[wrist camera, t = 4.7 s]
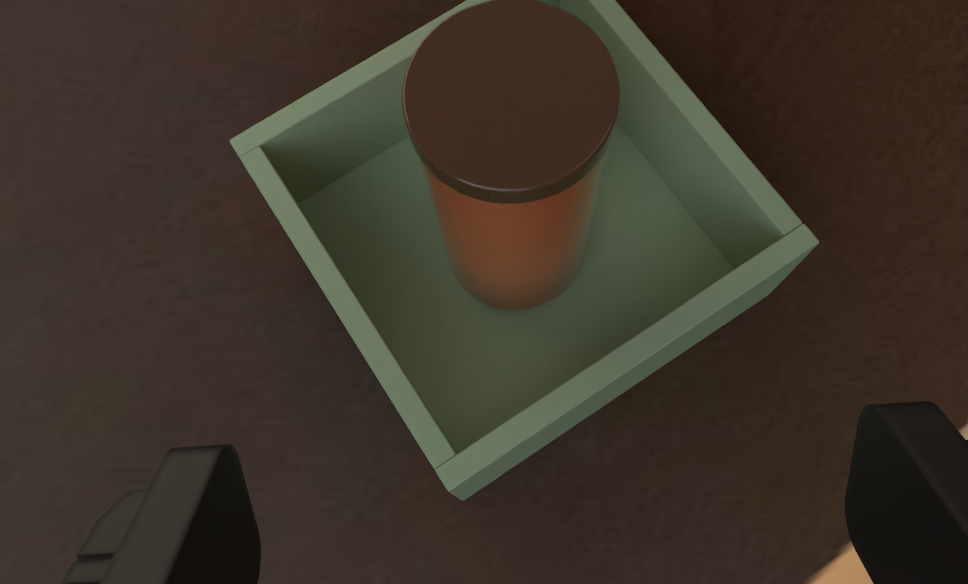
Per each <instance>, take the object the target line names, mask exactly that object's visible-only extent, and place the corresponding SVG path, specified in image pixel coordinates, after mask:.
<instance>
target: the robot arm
mask: <svg viewBox="0 0 968 584" xmlns="http://www.w3.org/2000/svg"><path fill="white" fill-rule="evenodd" d="M845 515H846V522H847V527H848V531H849V535H850V538H851V541H852V544H853V546H854V548H855V550H856V552H857V554H858V556H859V557H860V559H861V561H862V563H863V565H864V567H865V569H866V570H867V572H868V574H869V576H870V578H871V580H872V581H873V583H874V584H968V440H965V439H964V437H963V436H962V435H961V434H960V433H959V431H958V430H957V429H956V428H955V427H954V425H953V424H952V423H951V422H950V421H949V419H948V418H947V417H946V416H945V414H944V413H943V412H942V411H941V410H940V409H939V408H938V407H937V406H936V405H935V404H934V403H932V402H929V401H923V402H908V403H892V404H877V405H867V406H865V407H864V408H863V410H862V411H861V414H860V416H859V421H858V426H857V432H856V438H855V444H854V450H853V456H852V461H851V467H850V473H849V479H848V485H847V491H846V497H845ZM77 557H78V560H77V562H73V564H72V566H71V567H70V569H69V571H68V573H67V574H66V576H65V578H64V580H63V582H62V583H61V584H257V582H258V578H259V572H260V561H261V547H260V537H259V532H258V528H257V524H256V520H255V516H254V513H253V509H252V505H251V501H250V498H249V494H248V490H247V486H246V483H245V479H244V475H243V471H242V468H241V464H240V460H239V457H238V454H237V452H236V450H235V448H234V447H233V446H232V445H230V444H227V445H212V446H196V447H181V448H172V449H170V450H169V451H168V452H167V453H166V455H165V457H164V458H163V460H162V462H161V464H160V466H159V468H158V470H157V472H156V474H155V476H154V478H153V480H152V482H151V484H150V486H149V488H148V490H136V491H129V492H127V493H126V494H125V495H124V496H123V497H122V498H121V499H120V500H119V501H118V502H117V503H116V504H114V505H113V506H112V507H111V508H110V509H109V510H108V511H107V512H106V513H105V514H104V515H103V516H102V517H100V518H99V519H98V520H97V521H96V523H95V525H94V526H93V528H92V530H91V532H90V534H89V535H88V537H87V539H86V541H85V542H84V544H83V546H82V548H81V550H80V551H79V553H78V555H77Z"/></svg>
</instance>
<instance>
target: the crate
mask: <svg viewBox="0 0 968 584" xmlns="http://www.w3.org/2000/svg"><path fill="white" fill-rule="evenodd" d="M486 1H490V0H467V1H465V2H463V3H462V4H460V5H458V6H456V7H455V8H453V9H451V10H450V11H448V12H446V13H445V14H443V15H441V16H439V17H438V18H436V19H434V20H433V21H431V22H429V23H428V24H426V25H424V26H422V27H421V28H419V29H417V30H416V31H414V32H412V33H411V34H409V35H407V36H405V37H404V38H402V39H400V40H399V41H397V42H395V43H394V44H392V45H390V46H388V47H387V48H385V49H383V50H382V51H380V52H378V53H377V54H375V55H373V56H371V57H370V58H368V59H366V60H365V61H363V62H361V63H360V64H358V65H356V66H354V67H353V68H351V69H349V70H348V71H346V72H344V73H343V74H341V75H339V76H337V77H336V78H334V79H332V80H331V81H329V82H327V83H326V84H324V85H322V86H320V87H319V88H317V89H315V90H314V91H312V92H310V93H309V94H307V95H305V96H303V97H302V98H300V99H298V100H297V101H295V102H293V103H292V104H290V105H288V106H286V107H285V108H283V109H281V110H280V111H278V112H276V113H275V114H273V115H271V116H269V117H268V118H266V119H264V120H263V121H261V122H259V123H258V124H256V125H254V126H252V127H251V128H249V129H247V130H246V131H244V132H242V133H241V134H239V135H237V136H236V137H234V138H232V139H230V143H231V145H232V147H233V148H234V150H235V151H236V153H237V155H238V156H239V158H240V159H241V161H242V163H243V164H244V166H245V167H246V169H247V171H248V172H249V174H250V175H251V177H252V179H253V180H254V182H255V183H256V185H257V187H258V188H259V190H260V191H261V193H262V195H263V196H264V198H265V199H266V201H267V203H268V204H269V206H270V207H271V209H272V211H273V212H274V214H275V215H276V217H277V219H278V220H279V222H280V223H281V225H282V227H283V228H284V230H285V231H286V233H287V235H288V236H289V238H290V239H291V241H292V243H293V244H294V246H295V247H296V249H297V251H298V252H299V254H300V255H301V257H302V259H303V260H304V262H305V263H306V265H307V267H308V268H309V270H310V271H311V273H312V275H313V276H314V278H315V279H316V281H317V283H318V284H319V286H320V287H321V289H322V291H323V292H324V294H325V295H326V297H327V299H328V300H329V302H330V303H331V305H332V307H333V308H334V310H335V311H336V313H337V315H338V316H339V318H340V319H341V321H342V323H343V324H344V326H345V327H346V329H347V331H348V332H349V334H350V335H351V337H352V339H353V340H354V342H355V343H356V345H357V347H358V348H359V350H360V351H361V353H362V355H363V356H364V358H365V359H366V361H367V363H368V364H369V366H370V367H371V369H372V371H373V372H374V374H375V375H376V377H377V379H378V380H379V382H380V383H381V385H382V387H383V388H384V390H385V391H386V393H387V395H388V396H389V398H390V399H391V401H392V403H393V404H394V406H395V407H396V409H397V411H398V412H399V414H400V415H401V417H402V419H403V420H404V422H405V423H406V425H407V427H408V428H409V430H410V431H411V433H412V435H413V436H414V438H415V439H416V441H417V443H418V444H419V446H420V447H421V449H422V451H423V452H424V454H425V455H426V457H427V459H428V460H429V462H430V463H431V465H432V467H433V468H434V469H435V471H436V473H437V475H438V476H439V478H440V479H441V481H442V483H443V484H444V486H445V487H446V489H447V490H448V491H449V492H450V493H452V494H453V495H455V496H456V497H457V498H459V499H460V500H462V501H463V500H465V499H467V498H468V497H470V496H471V495H473V494H474V493H476V492H477V491H479V490H480V489H482V488H483V487H485V486H486V485H488V484H489V483H491V482H492V481H494V480H495V479H496V478H498V477H499V476H501V475H502V474H504V473H505V472H507V471H508V470H510V469H511V468H513V467H514V466H516V465H517V464H519V463H520V462H522V461H523V460H525V459H526V458H528V457H529V456H531V455H532V454H534V453H535V452H536V451H538V450H539V449H541V448H542V447H544V446H545V445H547V444H548V443H550V442H551V441H553V440H554V439H556V438H557V437H559V436H560V435H562V434H563V433H565V432H566V431H568V430H569V429H571V428H572V427H574V426H575V425H576V424H578V423H579V422H581V421H582V420H584V419H585V418H587V417H588V416H590V415H591V414H593V413H594V412H596V411H597V410H599V409H600V408H602V407H603V406H605V405H606V404H608V403H609V402H611V401H612V400H614V399H615V398H616V397H618V396H619V395H621V394H622V393H624V392H625V391H627V390H628V389H630V388H631V387H633V386H634V385H636V384H637V383H639V382H640V381H642V380H643V379H645V378H646V377H648V376H649V375H651V374H652V373H654V372H655V371H656V370H658V369H659V368H661V367H662V366H664V365H665V364H667V363H668V362H670V361H671V360H673V359H674V358H676V357H677V356H679V355H680V354H682V353H683V352H685V351H686V350H688V349H689V348H691V347H692V346H694V345H695V344H696V343H698V342H699V341H701V340H702V339H704V338H705V337H707V336H708V335H710V334H711V333H713V332H714V331H716V330H717V329H719V328H720V327H722V326H723V325H725V324H726V323H728V322H729V321H731V320H732V319H733V318H735V317H736V316H738V315H739V314H741V313H742V312H744V311H745V310H747V309H748V308H750V307H751V306H753V305H754V304H756V303H757V302H759V301H760V300H762V299H763V298H765V297H766V296H768V295H769V294H770V293H771V292H772V291H773V290H774V289H775V288H776V287H777V286H778V285H779V284H780V283H781V282H782V281H783V280H784V279H785V278H786V277H787V276H788V274H789V273H790V272H791V271H792V270H793V269H794V268H795V267H796V266H797V265H798V264H799V263H800V262H801V261H802V260H803V259H804V258H805V257H806V256H807V255H808V254H809V253H810V252H811V251H812V250H813V249H814V248H815V247H816V246H817V245H818V244H819V240H818V239H817V238H816V237H815V236H814V235H813V233H812V232H811V231H810V230H809V229H808V227H807V226H806V225H805V224H802V221H801V220H800V219H799V218H798V216H797V215H796V214H795V213H794V212H793V210H792V209H791V208H790V207H789V206H788V205H787V203H786V202H785V201H784V200H783V199H782V197H781V196H780V195H779V194H778V193H777V191H776V190H775V189H774V188H773V187H772V186H771V184H770V183H769V182H768V181H767V180H766V178H765V177H764V176H763V175H762V174H761V172H760V171H759V170H758V169H757V168H756V167H755V165H754V164H753V163H752V162H751V161H750V159H749V158H748V157H747V156H746V155H745V154H744V152H743V151H742V150H741V149H740V148H739V146H738V145H737V144H736V143H735V142H734V140H733V139H732V138H731V137H730V136H729V135H728V133H727V132H726V131H725V130H724V129H723V127H722V126H721V125H720V124H719V123H718V121H717V120H716V119H715V118H714V117H713V116H712V114H711V113H710V112H709V111H708V110H707V108H706V107H705V106H704V105H703V104H702V103H701V101H700V100H699V99H698V98H697V97H696V95H695V94H694V93H693V92H692V91H691V89H690V88H689V87H688V86H687V85H686V84H685V82H684V81H683V80H682V79H681V78H680V76H679V75H678V74H677V73H676V72H675V70H674V69H673V68H672V67H671V66H670V65H669V63H668V62H667V61H666V60H665V59H664V57H663V56H662V55H661V54H660V53H659V52H658V50H657V49H656V48H655V47H654V46H653V44H652V43H651V42H650V41H649V40H648V38H647V37H646V36H645V35H644V34H643V33H642V31H641V30H640V29H639V28H638V27H637V25H636V24H635V23H634V22H633V21H632V20H631V18H630V17H629V16H628V15H627V14H626V12H625V11H624V10H623V9H622V8H621V6H620V5H619V4H618V3H617V2H616V1H615V0H535V1H540V2H544V3H547V4H550V5H553V6H556V7H559V8H561V9H563V10H565V11H567V12H569V13H571V14H572V15H574V16H575V17H577V18H579V19H580V20H581V21H583V22H584V23H585V24H586V25H588V26H589V27H590V28H591V29H592V30H593V31H594V32H595V33H596V34H597V36H598V37H599V38H600V39H601V41H602V42H603V43H604V45H605V46H606V48H607V49H608V51H609V53H610V55H611V57H612V59H613V61H614V64H615V67H616V70H617V74H618V79H619V84H620V103H619V111H618V116H617V120H616V125H615V128H614V132H613V136H612V138H611V141H610V143H609V145H608V148H607V149H606V152H605V157H604V162H603V167H602V172H601V177H600V182H599V187H598V192H597V196H596V201H595V206H594V211H593V216H592V221H591V226H590V231H589V236H588V240H587V245H586V250H585V255H584V259H583V263H582V265H581V268H580V270H579V272H578V274H577V275H576V277H575V279H574V280H573V281H572V283H571V284H570V285H569V286H568V287H567V288H566V289H565V290H564V291H563V292H562V293H561V294H559V295H558V296H557V297H555V298H554V299H552V300H550V301H548V302H546V303H544V304H541V305H539V306H535V307H532V308H526V309H504V308H498V307H494V306H491V305H489V304H486V303H483V302H482V301H480V300H478V299H476V298H475V297H473V296H472V295H471V294H469V293H468V292H467V291H466V290H465V289H464V288H463V287H462V286H461V285H460V284H459V282H458V281H457V280H456V278H455V277H454V275H453V273H452V271H451V269H450V267H449V264H448V261H447V257H446V253H445V250H444V246H443V242H442V239H441V235H440V231H439V228H438V224H437V220H436V217H435V213H434V209H433V206H432V202H431V198H430V195H429V191H428V187H427V184H426V180H425V176H424V173H423V169H422V165H421V162H420V158H419V156H418V155H417V153H416V151H415V150H414V147H413V145H412V143H411V140H410V138H409V134H408V131H407V127H406V123H405V120H404V116H403V110H402V86H403V80H404V75H405V72H406V69H407V67H408V64H409V62H410V60H411V58H412V56H413V54H414V52H415V50H416V49H417V47H418V46H419V44H420V43H421V41H422V40H423V39H424V38H425V37H426V36H427V35H428V33H429V32H430V31H431V30H432V29H433V28H435V27H436V26H437V25H438V24H439V23H440V22H442V21H443V20H445V19H446V18H448V17H449V16H451V15H452V14H454V13H456V12H458V11H460V10H462V9H464V8H467V7H469V6H472V5H475V4H478V3H482V2H486Z"/></svg>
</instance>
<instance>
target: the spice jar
mask: <svg viewBox="0 0 968 584" xmlns="http://www.w3.org/2000/svg"><path fill="white" fill-rule="evenodd" d="M619 103H620V84H619V79H618V74H617V70H616V67H615V64H614V61H613V59H612V57H611V55H610V53H609V51H608V49H607V48H606V46H605V45H604V43H603V42H602V41H601V39H600V38H599V37H598V36H597V34H596V33H595V32H594V31H593V30H592V29H591V28H590V27H589V26H588V25H586V24H585V23H584V22H583V21H581V20H580V19H579V18H577V17H575V16H574V15H572V14H571V13H569V12H567V11H565V10H563V9H561V8H559V7H556V6H553V5H550V4H547V3H544V2H540V1H535V0H490V1H486V2H482V3H478V4H475V5H472V6H469V7H467V8H464V9H462V10H460V11H458V12H456V13H454V14H452V15H451V16H449V17H448V18H446V19H445V20H443V21H442V22H440V23H439V24H438V25H437V26H436V27H435V28H433V29H432V30H431V31H430V32H429V33H428V35H427V36H426V37H425V38H424V39H423V40H422V41H421V43H420V44H419V46H418V47H417V49H416V50H415V52H414V54H413V56H412V58H411V60H410V62H409V64H408V67H407V69H406V72H405V75H404V80H403V86H402V110H403V116H404V120H405V123H406V127H407V131H408V134H409V138H410V140H411V143H412V145H413V147H414V150H415V151H416V153H417V155H418V156H419V158H420V162H421V165H422V169H423V173H424V176H425V180H426V184H427V187H428V191H429V195H430V198H431V202H432V206H433V209H434V213H435V217H436V220H437V224H438V228H439V231H440V235H441V239H442V242H443V246H444V250H445V253H446V257H447V261H448V264H449V267H450V269H451V271H452V273H453V275H454V277H455V278H456V280H457V281H458V282H459V284H460V285H461V286H462V287H463V288H464V289H465V290H466V291H467V292H468V293H469V294H471V295H472V296H473V297H475V298H476V299H478V300H480V301H482V302H483V303H486V304H489V305H491V306H494V307H498V308H504V309H526V308H532V307H535V306H539V305H541V304H544V303H546V302H548V301H550V300H552V299H554V298H555V297H557V296H558V295H559V294H561V293H562V292H563V291H564V290H565V289H566V288H567V287H568V286H569V285H570V284H571V283H572V281H573V280H574V279H575V277H576V275H577V274H578V272H579V270H580V268H581V265H582V263H583V259H584V255H585V250H586V245H587V240H588V236H589V231H590V226H591V221H592V216H593V211H594V206H595V201H596V196H597V192H598V187H599V182H600V177H601V172H602V167H603V162H604V157H605V152H606V149H607V148H608V145H609V143H610V141H611V138H612V136H613V132H614V128H615V125H616V120H617V116H618V111H619Z"/></svg>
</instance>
